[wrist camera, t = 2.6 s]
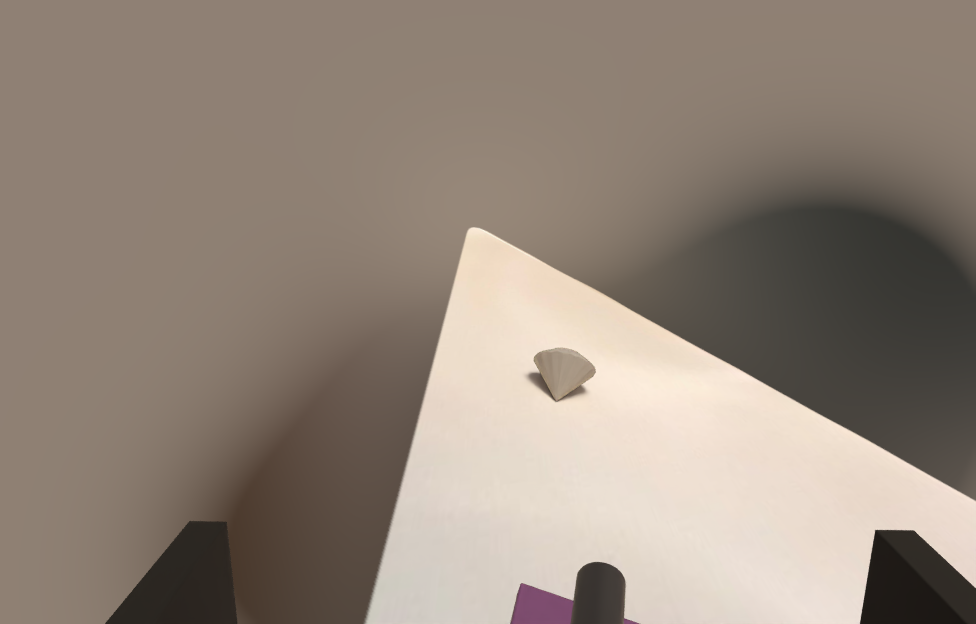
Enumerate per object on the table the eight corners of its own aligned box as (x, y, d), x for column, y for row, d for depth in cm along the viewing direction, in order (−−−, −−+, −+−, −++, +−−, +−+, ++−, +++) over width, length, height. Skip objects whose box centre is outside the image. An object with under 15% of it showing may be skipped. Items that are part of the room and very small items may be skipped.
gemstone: (536, 382, 60) (548, 333, 62) (516, 399, 66) (528, 354, 68) (598, 404, 61) (608, 355, 63) (573, 418, 67) (583, 373, 69)
